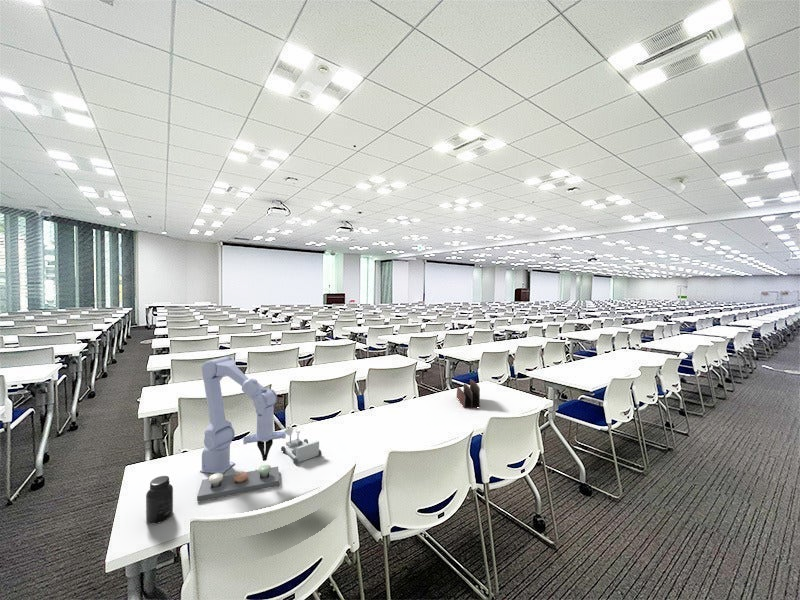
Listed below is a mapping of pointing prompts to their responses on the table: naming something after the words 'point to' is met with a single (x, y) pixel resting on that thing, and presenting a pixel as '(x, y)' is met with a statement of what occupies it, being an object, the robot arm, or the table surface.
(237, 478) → the terracotta button
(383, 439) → the table surface
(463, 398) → the letter holder
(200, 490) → the button panel
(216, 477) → the ivory button
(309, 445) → the toy rover
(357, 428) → the table surface
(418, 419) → the table surface
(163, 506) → the supplement bottle
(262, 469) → the sage green button
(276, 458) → the table surface
